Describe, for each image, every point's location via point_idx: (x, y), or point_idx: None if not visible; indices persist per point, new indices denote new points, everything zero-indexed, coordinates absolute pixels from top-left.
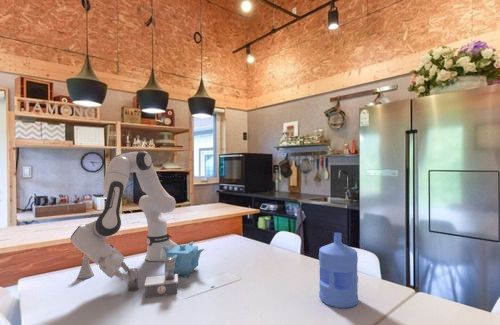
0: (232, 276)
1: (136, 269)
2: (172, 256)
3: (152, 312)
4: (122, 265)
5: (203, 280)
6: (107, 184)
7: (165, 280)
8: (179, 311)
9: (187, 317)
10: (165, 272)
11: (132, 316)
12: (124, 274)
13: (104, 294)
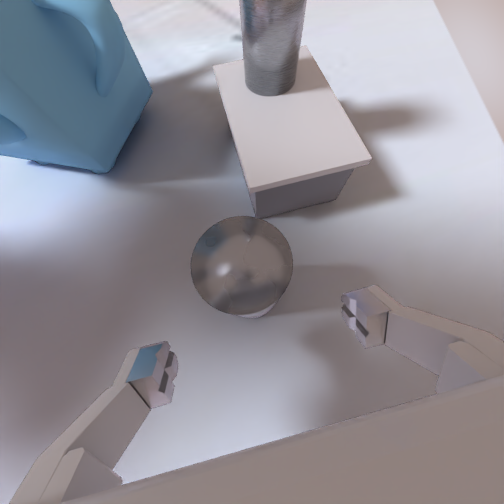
0: (169, 10)
1: (229, 230)
2: (31, 28)
3: (445, 141)
4: (97, 463)
5: (187, 64)
6: None
7: (298, 88)
8: (415, 77)
9: (443, 54)
10: (294, 38)
11: (497, 193)
12: (363, 302)
13: None
